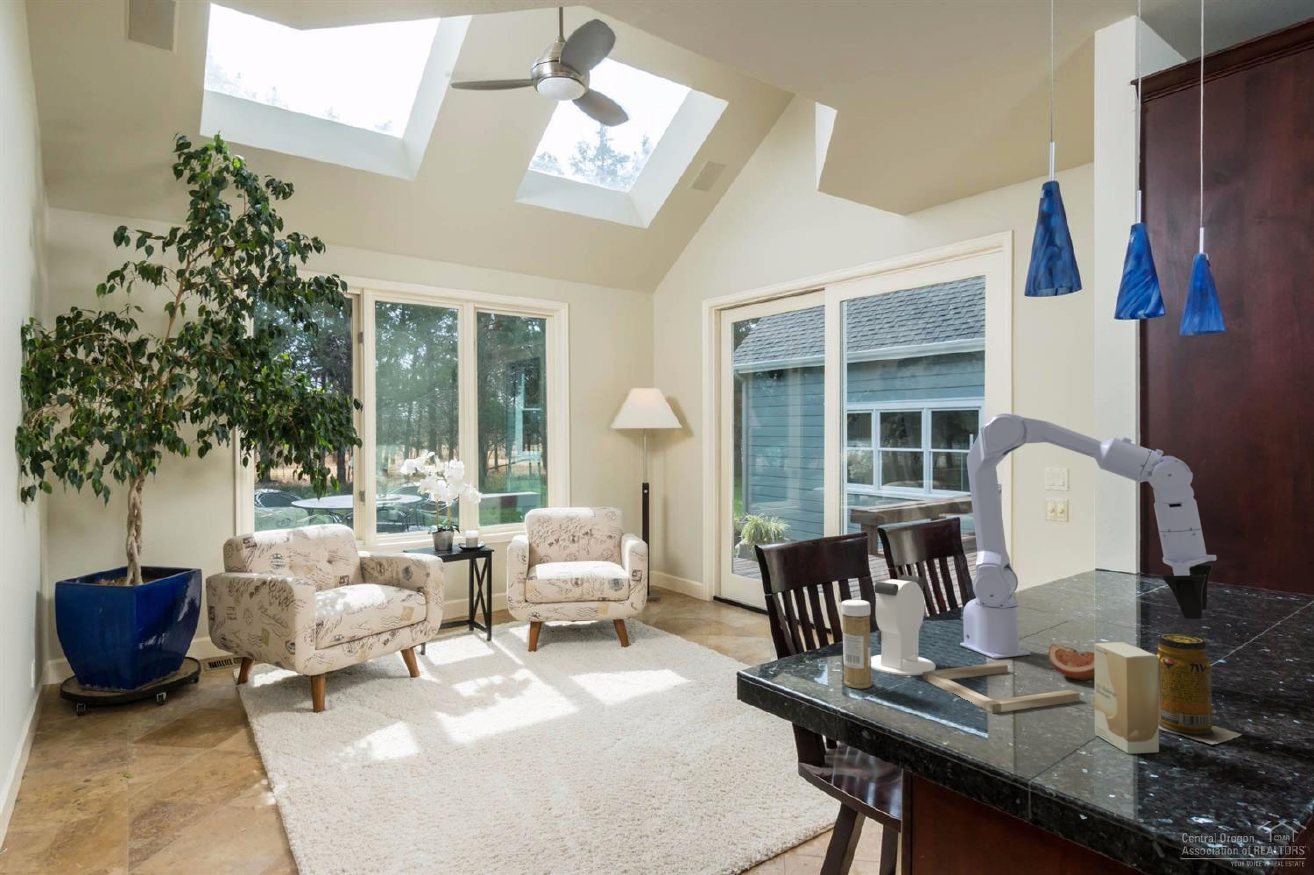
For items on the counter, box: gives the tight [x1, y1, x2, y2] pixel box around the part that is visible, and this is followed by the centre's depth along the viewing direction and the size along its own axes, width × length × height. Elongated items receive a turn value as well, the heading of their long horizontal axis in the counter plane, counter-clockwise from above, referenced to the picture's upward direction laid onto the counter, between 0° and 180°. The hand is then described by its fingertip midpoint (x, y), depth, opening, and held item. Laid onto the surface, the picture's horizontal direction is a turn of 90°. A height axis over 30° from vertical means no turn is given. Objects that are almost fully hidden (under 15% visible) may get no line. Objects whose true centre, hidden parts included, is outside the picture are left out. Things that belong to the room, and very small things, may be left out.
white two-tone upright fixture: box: [871, 574, 936, 676], centre depth 126 cm, size 12×11×15 cm
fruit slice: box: [1048, 643, 1095, 681], centre depth 117 cm, size 8×7×5 cm
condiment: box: [1156, 633, 1243, 745], centre depth 96 cm, size 7×8×12 cm
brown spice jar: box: [840, 599, 873, 690], centre depth 116 cm, size 5×5×13 cm
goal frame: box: [922, 662, 1080, 714], centre depth 112 cm, size 16×16×1 cm
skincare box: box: [1093, 641, 1160, 755], centre depth 92 cm, size 6×4×12 cm
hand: (1196, 613), depth 116 cm, fingers open, 7 cm apart
